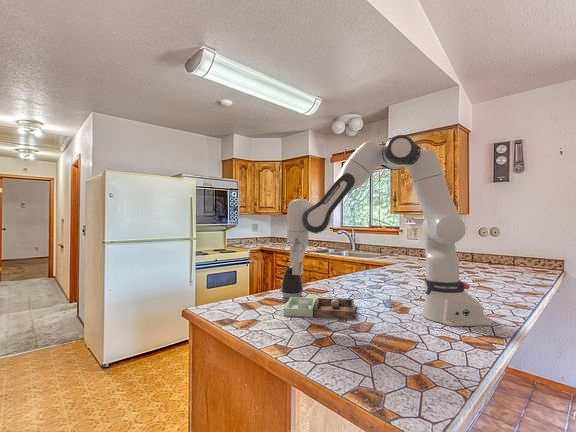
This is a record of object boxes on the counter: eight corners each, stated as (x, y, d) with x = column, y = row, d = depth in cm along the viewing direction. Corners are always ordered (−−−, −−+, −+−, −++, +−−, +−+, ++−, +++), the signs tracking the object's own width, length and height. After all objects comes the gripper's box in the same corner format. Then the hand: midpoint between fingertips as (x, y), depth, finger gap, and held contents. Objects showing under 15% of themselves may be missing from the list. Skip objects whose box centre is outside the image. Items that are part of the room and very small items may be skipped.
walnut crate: (353, 307, 125) (353, 299, 125) (355, 321, 110) (355, 311, 110) (317, 306, 128) (317, 297, 128) (314, 319, 112) (313, 309, 112)
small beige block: (309, 310, 120) (309, 300, 119) (308, 313, 116) (308, 303, 116) (299, 310, 120) (299, 300, 120) (297, 313, 116) (297, 303, 116)
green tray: (316, 306, 128) (316, 297, 128) (312, 319, 112) (312, 309, 112) (290, 304, 130) (290, 296, 130) (283, 317, 114) (283, 308, 114)
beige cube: (303, 273, 126) (303, 263, 126) (301, 275, 122) (301, 265, 122) (293, 272, 127) (293, 263, 127) (292, 274, 123) (292, 264, 123)
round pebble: (339, 306, 125) (339, 298, 125) (339, 309, 121) (339, 300, 121) (330, 306, 125) (330, 297, 125) (330, 308, 122) (330, 300, 122)
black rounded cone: (277, 300, 137) (277, 267, 137) (286, 294, 147) (285, 263, 147) (298, 302, 133) (298, 268, 133) (306, 296, 143) (305, 264, 143)
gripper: (302, 240, 114) (302, 276, 114) (307, 236, 134) (307, 267, 134) (285, 240, 115) (285, 276, 115) (293, 236, 135) (293, 266, 135)
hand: (297, 271), depth 125 cm, fingers closed on beige cube, 4 cm apart
